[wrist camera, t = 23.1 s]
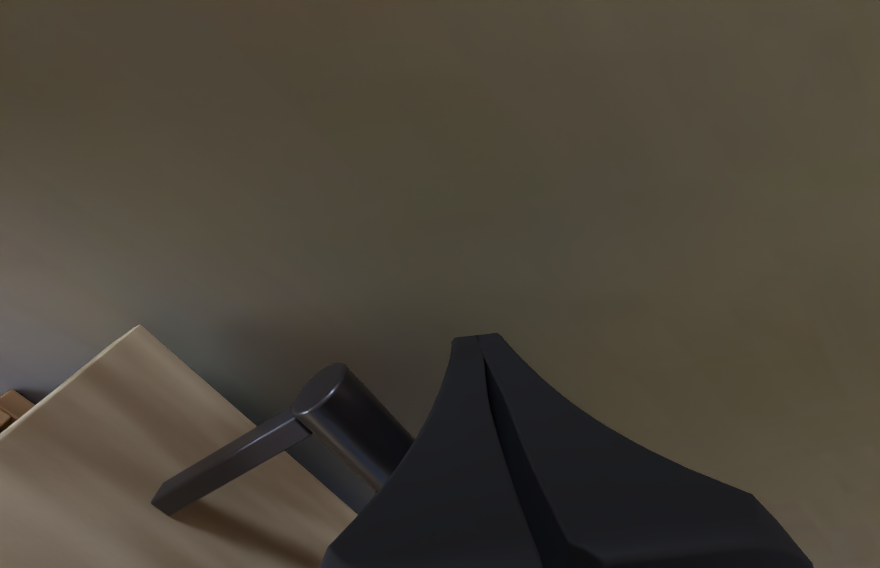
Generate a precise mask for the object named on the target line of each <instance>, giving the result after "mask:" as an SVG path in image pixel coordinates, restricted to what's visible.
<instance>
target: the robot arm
mask: <svg viewBox="0 0 880 568" xmlns="http://www.w3.org/2000/svg"><path fill="white" fill-rule="evenodd" d="M451 343H452V348H451V355H450V359H449V363H448V367H447V370H446V373H445V376H444V379H443V382H442V385H441V388H440V391H439V393H438V395H437V397H436V400H435V402H434V404H433V407H432V409H431V411H430V413H429V415H428V417H427V419H426V421H425V423H424V425H423V427H422V428H421V430H420V432H419V434H418V436H417V437H416V439H415V441H414V442H413V444H412V445H411V447H410V448H409V450H408V452H407V453H406V455H405V456H404V458H403V459H402V461H401V462H400V464H399V465H398V466H397V468H396V469H395V471H394V472H393V473H392V475H391V476H390V477H389V478H388V480H387V481H386V482H385V483H384V485H383V486H382V487H381V488H380V490H379V491H378V492H377V494H376V495H375V496H374V497H373V499H372V500H371V501H370V502H369V503H368V505H367V506H366V507H365V508H364V509H363V510H362V511H361V512H360V513H359V515H358V516H357V517H356V518H355V519H354V520H353V521H352V522H351V523H350V524H349V525H348V526H347V527H346V528H345V529H344V530H343V531H342V533H341V534H340V535H339V536H338V537H337V538H336V539H335V540H334V541H333V542H332V543H331V544H330V545H329V546H328V547H327V550H326V552H325V555H324V557H323V560H322V562H321V565H320V567H319V568H813V564H812V562H811V561H810V560H809V559H808V557H807V556H806V555H805V554H804V553H803V551H802V550H801V549H800V548H799V547H798V545H797V544H796V543H795V542H794V541H793V539H792V538H791V537H790V536H789V534H788V533H787V532H786V531H785V530H784V528H783V527H782V526H781V525H780V524H779V522H778V521H777V520H776V519H775V518H774V517H773V516H772V515H771V514H770V513H769V512H768V511H767V510H766V508H765V507H764V506H763V505H762V504H761V503H760V502H759V501H758V500H757V499H756V498H755V497H754V496H753V495H752V494H750V493H747V492H745V491H742V490H740V489H737V488H735V487H732V486H730V485H727V484H725V483H722V482H720V481H718V480H715V479H713V478H710V477H708V476H705V475H703V474H700V473H698V472H695V471H693V470H690V469H688V468H686V467H684V466H682V465H680V464H677V463H675V462H673V461H671V460H669V459H667V458H665V457H663V456H661V455H658V454H656V453H654V452H652V451H650V450H648V449H647V448H645V447H643V446H641V445H639V444H637V443H635V442H633V441H631V440H630V439H628V438H626V437H624V436H623V435H621V434H619V433H617V432H616V431H614V430H612V429H610V428H609V427H607V426H605V425H604V424H602V423H601V422H599V421H597V420H596V419H594V418H593V417H591V416H590V415H588V414H587V413H586V412H584V411H583V410H581V409H580V408H578V407H577V406H575V405H574V404H573V403H571V402H570V401H569V400H568V399H566V398H565V397H564V396H562V395H561V394H560V393H559V392H558V391H556V390H555V389H554V388H553V387H552V386H550V385H549V384H548V383H547V382H546V381H545V380H544V379H542V378H541V377H540V376H539V375H538V374H537V373H536V372H535V371H534V370H533V369H532V368H531V367H530V366H529V365H528V364H527V363H526V362H525V361H524V360H523V359H522V358H521V357H520V356H519V355H518V354H517V353H516V352H515V351H514V350H513V349H512V348H511V347H510V346H509V344H508V343H507V342H506V341H505V340H504V339H503V337H502V336H501V335H499V334H498V333H492V334H484V335H475V336H467V337H458V338H455V339H454V340H453V341H452V342H451Z"/></svg>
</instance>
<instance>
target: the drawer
mask: <svg viewBox="0 0 880 568" xmlns="http://www.w3.org/2000/svg"><path fill="white" fill-rule="evenodd" d="M312 433H313V434H314V435H316V436H317V437H318V438H319V439H320V440H321V441H322V442H323V443H324V444H325V445H326V446H327V447H328V448H330V449H331V450H332V451H333V452H334V453H335V454H336V455H337V456H338V457H339V458H340V459H341V460H342V461H343V462H345V463H346V464H347V465H348V466H349V467H350V468H351V469H352V470H353V471H354V472H355V473H356V474H357V475H358V476H360V477H361V478H362V479H363V480H364V481H365V482H366V483H367V484H368V485H369V486H370V487H371V488H372V489H373V490H375V491H376V492H378V491H379V490H380V488H381V487H382V486H383V485H384V483H385V482H386V481H387V480H388V478H389V477H390V476H391V475H392V473H393V472H394V471H395V469H396V468H397V466H398V465H399V464H400V462H401V461H402V459H403V458H404V456H405V455H406V453H407V452H408V450H409V448H410V447H411V445H412V444H413V442H414V441H415V439H414V438H413V437H412V436H411V435H410V433H409V432H408V431H407V430H406V429H405V428H404V427H403V426H402V425H401V424H400V423H399V422H398V421H397V420H396V418H395V417H394V416H393V415H392V414H391V413H390V412H389V411H388V410H387V409H386V408H385V407H384V406H383V404H382V403H381V402H380V401H379V400H378V399H377V398H376V397H375V396H374V395H373V394H372V393H371V392H370V391H369V389H368V388H367V387H366V386H365V385H364V384H363V383H362V382H361V381H360V380H359V379H358V378H357V377H356V375H355V374H354V373H353V372H352V371H351V370H350V369H349V368H348V367H347V366H346V365H345V364H342V363H335V364H332V365H329V366H327V367H326V368H324V369H323V370H321V371H320V372H318V373H317V374H316V375H314V376H313V377H312V378H311V379H310V380H309V381H308V382H307V383H306V384H305V385H304V387H303V388H302V389H301V390H300V392H299V393H298V395H297V396H296V398H295V400H294V402H293V405H292V406H291V407H289V408H287V409H286V410H284V411H282V412H281V413H279V414H277V415H276V416H274V417H272V418H271V419H269V420H267V421H266V422H264V423H262V424H261V425H259V426H256V425H255V424H254V423H252V422H251V421H250V420H249V419H248V418H247V417H246V416H244V415H243V414H242V413H241V412H240V411H239V410H238V409H236V408H235V407H234V406H233V405H232V404H231V403H230V402H228V401H227V400H226V399H225V398H224V397H223V396H222V395H220V394H219V393H218V392H217V391H216V390H215V389H214V388H212V387H211V386H210V385H209V384H208V383H207V382H206V381H204V380H203V379H202V378H201V377H200V376H199V375H198V374H196V373H195V372H194V371H193V370H192V369H191V368H190V367H188V366H187V365H186V364H185V363H184V362H183V361H181V360H180V359H179V358H178V357H177V356H176V355H175V354H173V353H172V352H171V351H170V350H169V349H168V348H167V347H165V346H164V345H163V344H162V343H161V342H160V341H159V340H157V339H156V338H155V337H154V336H153V335H152V334H151V333H149V332H148V331H147V330H146V329H145V328H144V327H143V326H141V325H137V326H136V327H134V328H133V329H131V330H130V331H129V332H127V333H126V334H124V335H123V336H121V337H120V338H119V339H117V340H116V341H114V342H113V343H112V344H110V345H109V346H108V347H107V348H105V349H104V350H103V351H102V352H100V353H99V354H98V355H97V356H96V357H94V358H93V359H92V360H91V361H89V362H88V363H87V364H86V365H84V366H83V367H82V368H81V369H79V370H78V371H77V372H76V373H75V374H73V375H72V376H71V377H70V378H68V379H67V380H66V381H65V382H63V383H62V384H61V385H60V386H58V387H57V388H56V389H55V390H54V391H52V392H51V393H50V394H49V395H47V396H46V397H45V398H44V399H42V400H41V401H40V402H39V403H38V404H36V405H35V406H34V407H33V408H31V409H30V410H29V411H28V412H26V413H25V414H24V415H23V416H21V417H20V418H19V419H18V420H17V421H15V422H14V423H13V424H12V425H10V426H9V427H8V428H7V429H5V430H4V431H3V432H2V433H1V434H0V568H319V567H320V565H321V562H322V560H323V557H324V555H325V552H326V550H327V547H328V546H329V545H330V544H331V543H332V542H333V541H334V540H335V539H336V538H337V537H338V536H339V535H340V534H341V533H342V531H343V530H344V529H345V528H346V527H347V526H348V525H349V524H350V523H351V522H352V521H353V520H354V519H355V518H356V517H357V516H358V514H357V513H355V512H354V511H353V510H352V509H351V508H350V507H348V506H347V505H346V504H345V503H344V502H343V501H342V500H340V499H339V498H338V497H337V496H336V495H335V494H334V493H332V492H331V491H330V490H329V489H328V488H327V487H326V486H324V485H323V484H322V483H321V482H320V481H319V480H318V479H316V478H315V477H314V476H313V475H312V474H311V473H310V472H308V471H307V470H306V469H305V468H304V467H303V466H302V465H300V464H299V463H298V462H297V461H296V460H295V459H294V458H292V457H291V456H290V455H289V454H288V453H287V452H286V451H285V450H286V449H288V448H290V447H292V446H293V445H295V444H297V443H299V442H300V441H302V440H304V439H306V438H307V437H309V436H311V435H312Z"/></svg>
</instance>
